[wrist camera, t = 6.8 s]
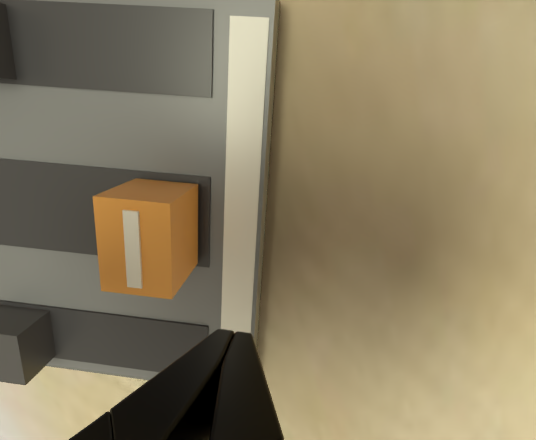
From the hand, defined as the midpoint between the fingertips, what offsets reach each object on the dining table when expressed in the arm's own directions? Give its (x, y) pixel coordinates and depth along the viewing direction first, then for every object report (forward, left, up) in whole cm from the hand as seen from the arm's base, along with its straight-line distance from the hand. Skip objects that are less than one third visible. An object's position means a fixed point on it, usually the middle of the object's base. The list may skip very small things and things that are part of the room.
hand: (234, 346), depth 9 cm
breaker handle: (+5, 0, -8) cm, 10 cm away
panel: (+10, 0, -11) cm, 14 cm away
